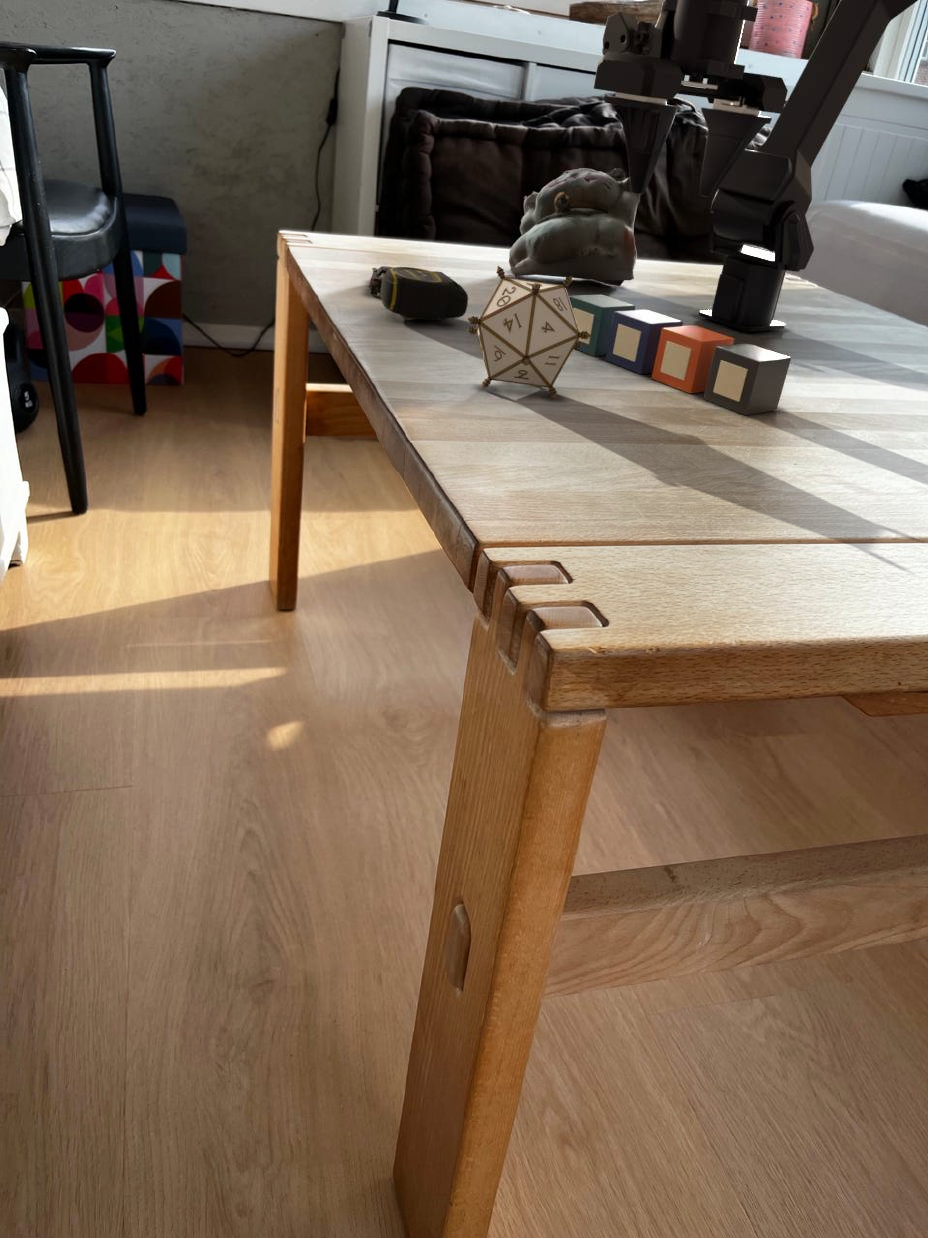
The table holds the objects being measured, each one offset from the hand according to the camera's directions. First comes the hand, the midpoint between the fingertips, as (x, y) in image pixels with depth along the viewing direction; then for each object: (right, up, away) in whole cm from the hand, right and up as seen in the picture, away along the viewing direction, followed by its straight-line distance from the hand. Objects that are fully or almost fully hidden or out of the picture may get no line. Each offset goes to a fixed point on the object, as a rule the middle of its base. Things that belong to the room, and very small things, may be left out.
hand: (672, 194), depth 90 cm
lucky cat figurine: (-7, 0, +24) cm, 25 cm away
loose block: (-1, -19, -9) cm, 21 cm away
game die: (-14, -21, -16) cm, 30 cm away
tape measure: (-22, -11, 0) cm, 24 cm away
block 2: (-4, -16, -5) cm, 18 cm away
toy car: (-25, -6, +8) cm, 27 cm away
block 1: (-7, -14, -2) cm, 16 cm away
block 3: (+3, -21, -12) cm, 24 cm away
